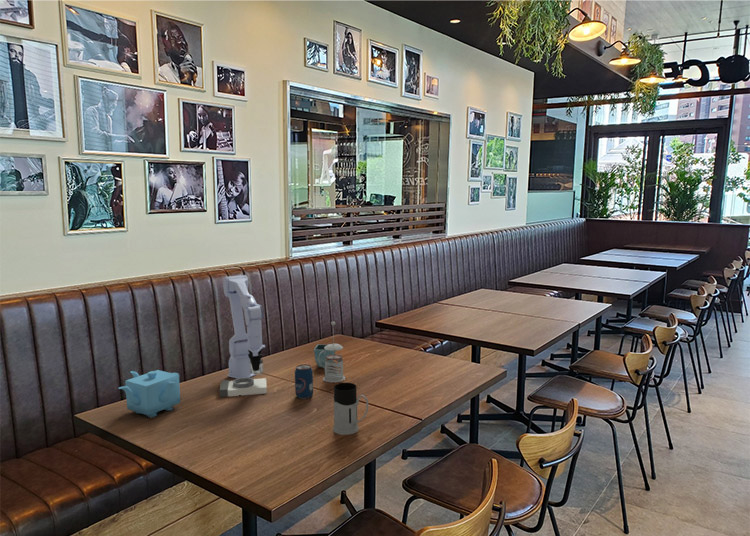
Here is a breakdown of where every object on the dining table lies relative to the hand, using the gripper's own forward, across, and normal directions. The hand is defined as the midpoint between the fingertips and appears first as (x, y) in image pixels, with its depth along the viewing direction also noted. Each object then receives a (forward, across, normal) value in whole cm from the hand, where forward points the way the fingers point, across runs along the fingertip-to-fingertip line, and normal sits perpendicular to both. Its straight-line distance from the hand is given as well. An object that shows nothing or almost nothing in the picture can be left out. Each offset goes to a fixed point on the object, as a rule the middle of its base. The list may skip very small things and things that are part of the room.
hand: (255, 368), depth 220 cm
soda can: (+9, -12, -18) cm, 24 cm away
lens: (+2, 0, 0) cm, 2 cm away
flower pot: (+9, +23, -31) cm, 40 cm away
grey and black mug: (+9, -48, -30) cm, 57 cm away
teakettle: (+9, -14, +38) cm, 41 cm away
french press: (+9, +5, -32) cm, 33 cm away
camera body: (+9, 0, +5) cm, 10 cm away
